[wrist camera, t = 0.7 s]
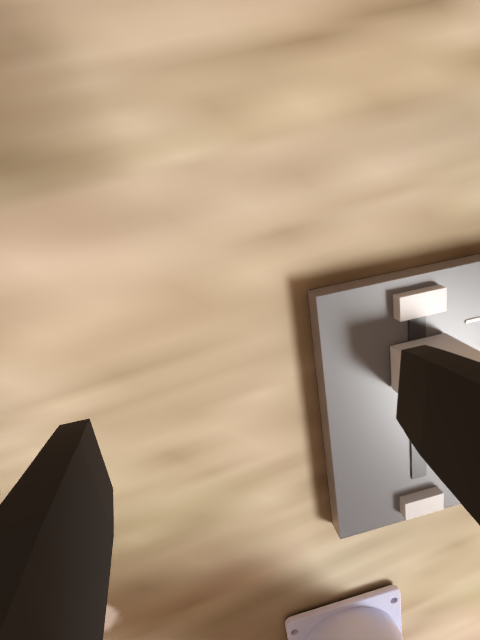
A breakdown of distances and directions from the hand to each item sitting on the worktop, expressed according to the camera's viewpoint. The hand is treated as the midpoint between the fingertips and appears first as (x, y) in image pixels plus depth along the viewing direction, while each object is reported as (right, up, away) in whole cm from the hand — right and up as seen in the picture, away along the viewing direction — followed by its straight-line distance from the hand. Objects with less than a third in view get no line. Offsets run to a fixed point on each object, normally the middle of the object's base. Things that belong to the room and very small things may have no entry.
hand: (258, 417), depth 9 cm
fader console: (+13, -1, +14) cm, 19 cm away
